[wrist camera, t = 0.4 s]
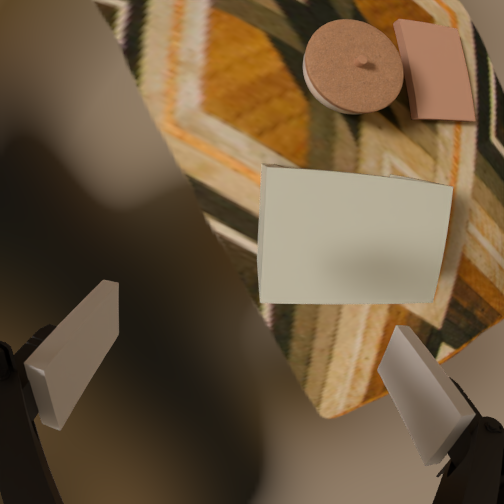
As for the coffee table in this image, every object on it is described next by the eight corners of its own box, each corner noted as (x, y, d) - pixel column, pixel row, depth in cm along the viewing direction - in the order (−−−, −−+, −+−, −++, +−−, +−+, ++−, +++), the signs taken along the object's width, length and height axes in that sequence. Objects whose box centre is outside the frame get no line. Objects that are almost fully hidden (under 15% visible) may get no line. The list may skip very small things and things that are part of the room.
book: (391, 24, 33) (398, 18, 30) (448, 33, 32) (457, 29, 30) (409, 119, 37) (418, 118, 34) (465, 121, 36) (475, 121, 34)
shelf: (261, 163, 38) (266, 167, 26) (400, 175, 38) (453, 186, 26) (257, 259, 41) (260, 303, 29) (388, 263, 42) (432, 302, 30)
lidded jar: (387, 112, 36) (423, 104, 27) (309, 127, 37) (327, 119, 28) (363, 36, 33) (391, 10, 24) (284, 47, 34) (294, 19, 25)
